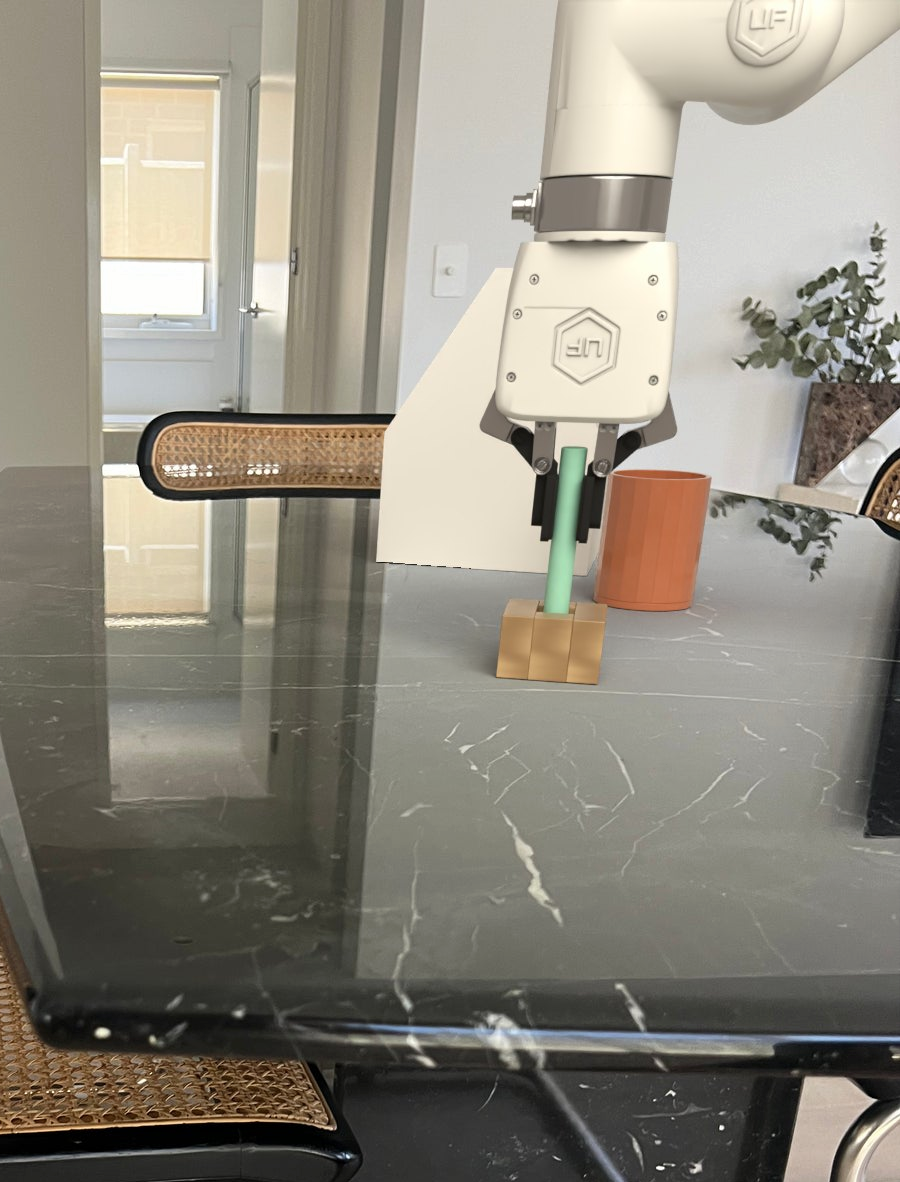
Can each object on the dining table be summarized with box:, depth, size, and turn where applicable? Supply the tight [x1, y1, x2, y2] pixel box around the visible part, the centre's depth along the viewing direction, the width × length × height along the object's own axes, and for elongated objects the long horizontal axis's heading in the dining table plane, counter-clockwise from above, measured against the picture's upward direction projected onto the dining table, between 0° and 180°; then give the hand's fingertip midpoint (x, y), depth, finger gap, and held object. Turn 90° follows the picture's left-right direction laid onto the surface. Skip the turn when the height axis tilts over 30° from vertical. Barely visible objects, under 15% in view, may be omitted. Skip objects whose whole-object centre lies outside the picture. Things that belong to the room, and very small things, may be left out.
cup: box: [592, 468, 713, 612], centre depth 118 cm, size 8×8×10 cm
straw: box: [543, 446, 588, 614], centre depth 94 cm, size 2×2×14 cm
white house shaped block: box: [375, 267, 609, 577], centre depth 136 cm, size 19×15×25 cm
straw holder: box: [495, 597, 608, 685], centre depth 96 cm, size 6×6×4 cm
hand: (564, 537), depth 93 cm, fingers closed on straw, 1 cm apart
